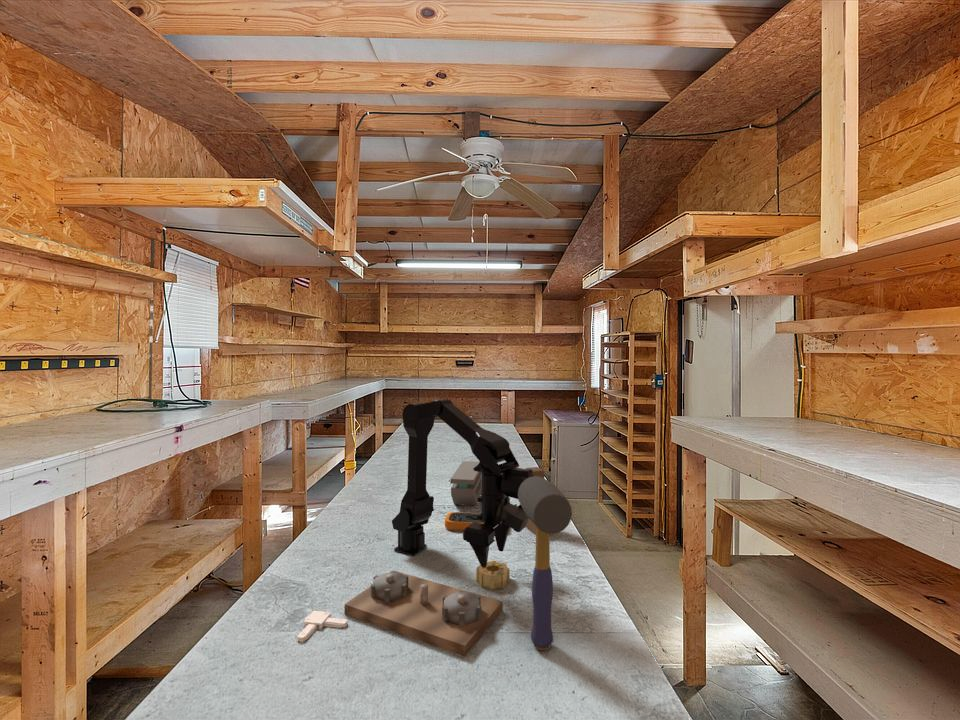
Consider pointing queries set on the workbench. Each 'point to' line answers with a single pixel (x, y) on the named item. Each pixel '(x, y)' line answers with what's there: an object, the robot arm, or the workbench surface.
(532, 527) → the wooden block
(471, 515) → the multimeter
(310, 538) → the workbench surface
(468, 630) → the gear board
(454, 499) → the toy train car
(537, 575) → the rubber mallet
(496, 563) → the brass gear
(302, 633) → the corner connector
